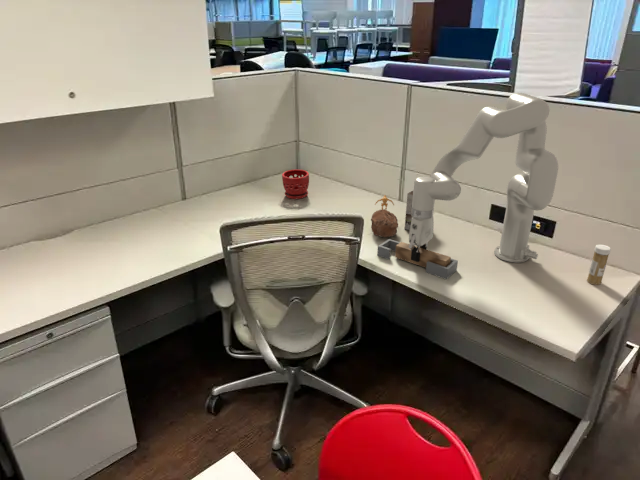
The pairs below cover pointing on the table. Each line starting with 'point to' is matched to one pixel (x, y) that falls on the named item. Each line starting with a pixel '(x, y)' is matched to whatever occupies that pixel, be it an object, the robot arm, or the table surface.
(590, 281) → the sprinkles bottle
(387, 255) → the end cap
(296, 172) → the plant pot
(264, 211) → the table surface
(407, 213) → the coffee box
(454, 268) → the end cap
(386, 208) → the figurine
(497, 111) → the robot arm
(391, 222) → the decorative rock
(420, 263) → the slat
